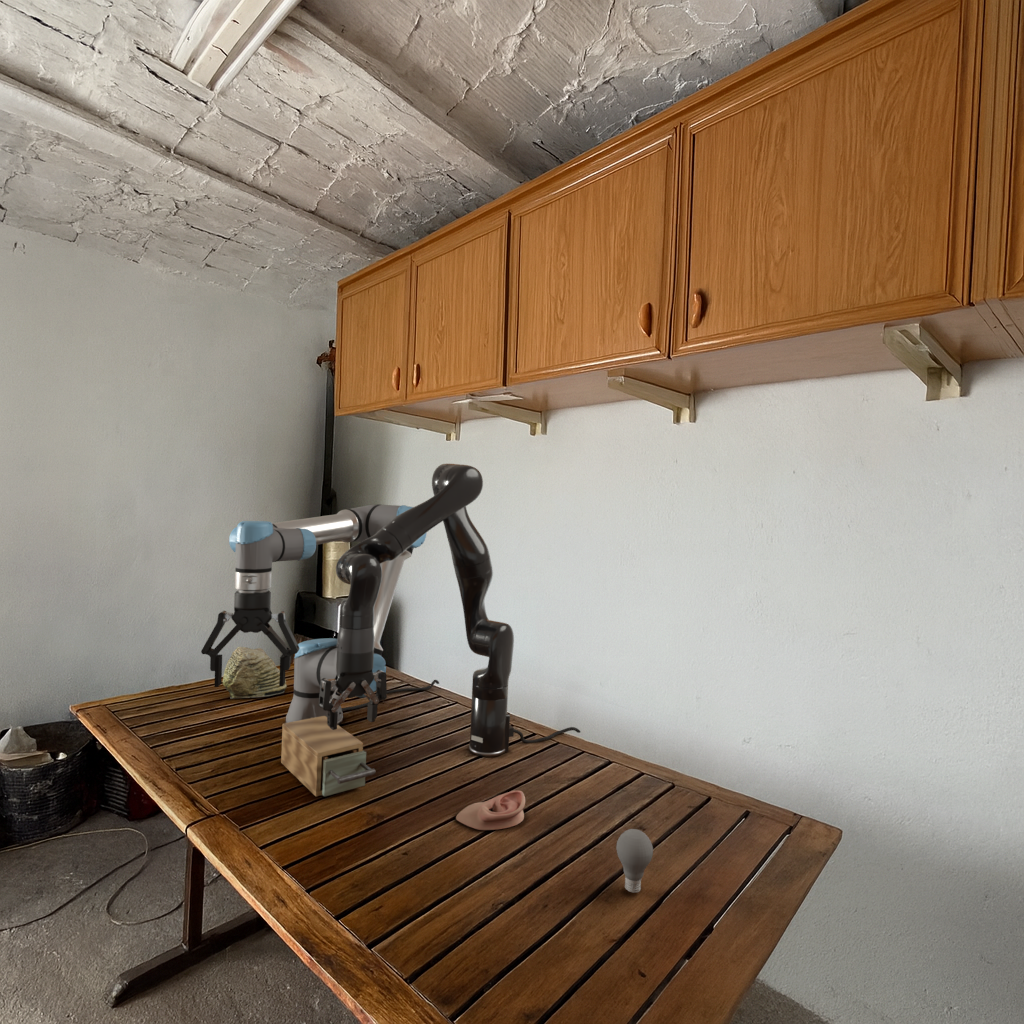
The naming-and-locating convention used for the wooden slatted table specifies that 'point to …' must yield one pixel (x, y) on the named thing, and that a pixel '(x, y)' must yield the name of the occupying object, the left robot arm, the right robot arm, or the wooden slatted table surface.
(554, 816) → the wooden slatted table surface
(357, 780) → the drawer
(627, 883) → the light bulb
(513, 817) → the anatomical model
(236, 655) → the fossil
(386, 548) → the right robot arm
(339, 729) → the cabinet
